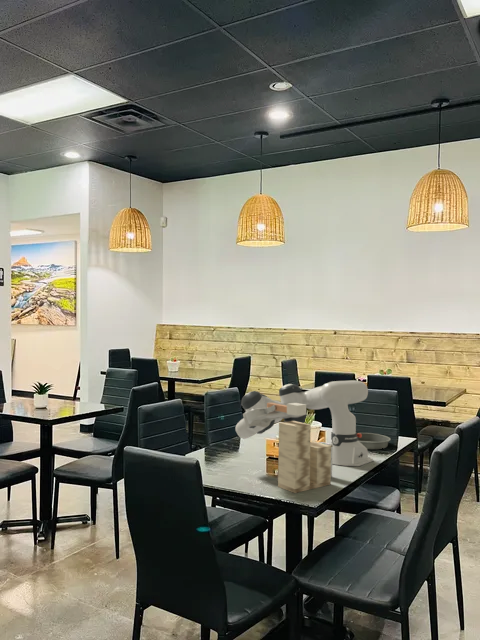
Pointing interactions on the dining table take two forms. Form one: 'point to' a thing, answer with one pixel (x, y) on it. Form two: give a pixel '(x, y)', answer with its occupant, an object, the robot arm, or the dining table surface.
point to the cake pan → (378, 439)
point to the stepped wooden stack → (302, 459)
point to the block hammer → (290, 408)
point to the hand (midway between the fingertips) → (278, 406)
